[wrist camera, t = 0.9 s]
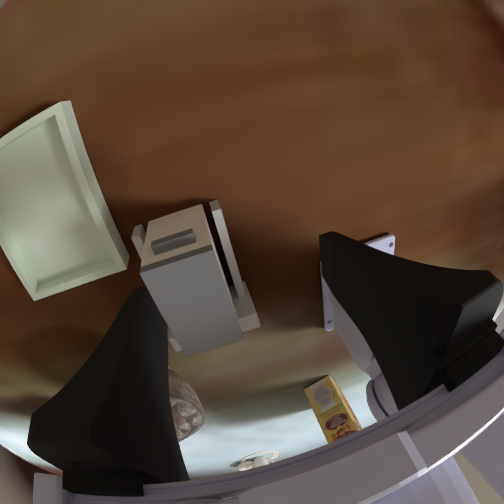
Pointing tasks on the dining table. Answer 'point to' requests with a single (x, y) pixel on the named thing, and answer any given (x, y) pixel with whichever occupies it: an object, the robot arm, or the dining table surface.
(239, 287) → the bay
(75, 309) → the dining table surface
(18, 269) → the tray
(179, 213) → the block
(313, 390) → the candy box
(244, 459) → the white headphones
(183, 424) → the pottery
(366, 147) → the dining table surface
